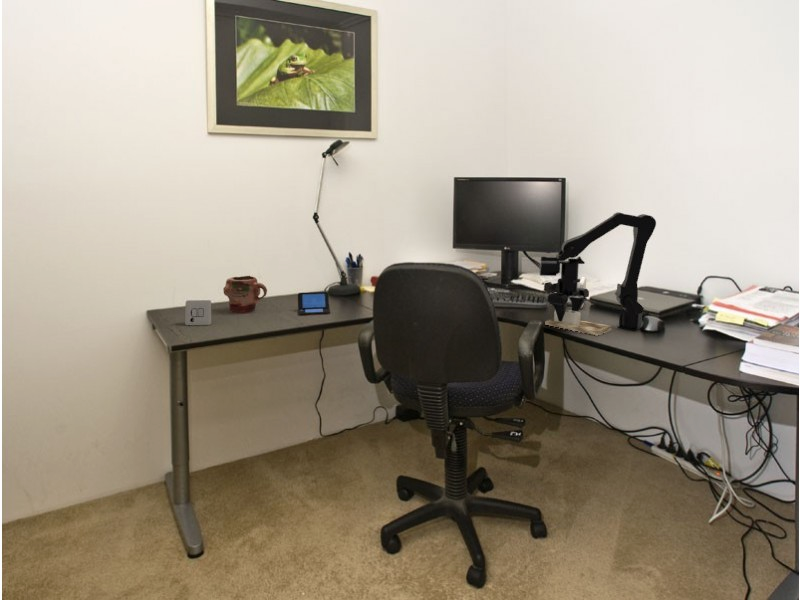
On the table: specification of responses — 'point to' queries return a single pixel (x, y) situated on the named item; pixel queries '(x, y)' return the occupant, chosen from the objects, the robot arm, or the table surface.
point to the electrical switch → (198, 312)
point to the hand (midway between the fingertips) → (567, 319)
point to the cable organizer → (579, 286)
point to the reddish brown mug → (243, 293)
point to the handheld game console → (313, 303)
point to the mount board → (582, 327)
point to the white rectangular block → (569, 317)
